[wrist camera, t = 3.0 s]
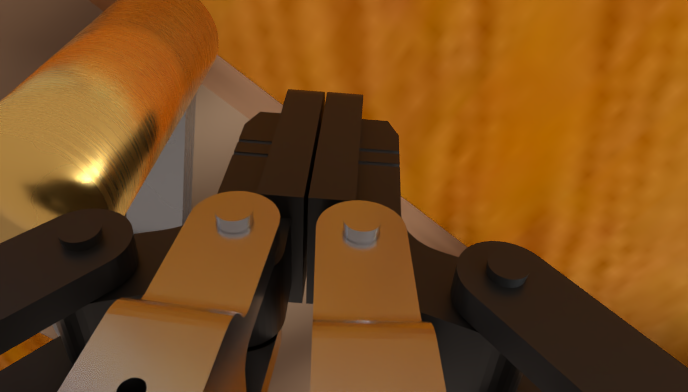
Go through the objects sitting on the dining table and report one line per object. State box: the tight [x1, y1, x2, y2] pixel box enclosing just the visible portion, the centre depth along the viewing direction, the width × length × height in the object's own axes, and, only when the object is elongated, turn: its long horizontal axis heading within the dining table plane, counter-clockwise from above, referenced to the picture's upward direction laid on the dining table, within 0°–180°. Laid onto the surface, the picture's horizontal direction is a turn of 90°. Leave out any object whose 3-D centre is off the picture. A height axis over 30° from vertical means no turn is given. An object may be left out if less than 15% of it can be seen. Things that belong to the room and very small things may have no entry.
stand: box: [0, 0, 467, 392], centre depth 21 cm, size 19×15×3 cm
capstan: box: [0, 0, 218, 337], centre depth 16 cm, size 18×6×8 cm, turn 169°
